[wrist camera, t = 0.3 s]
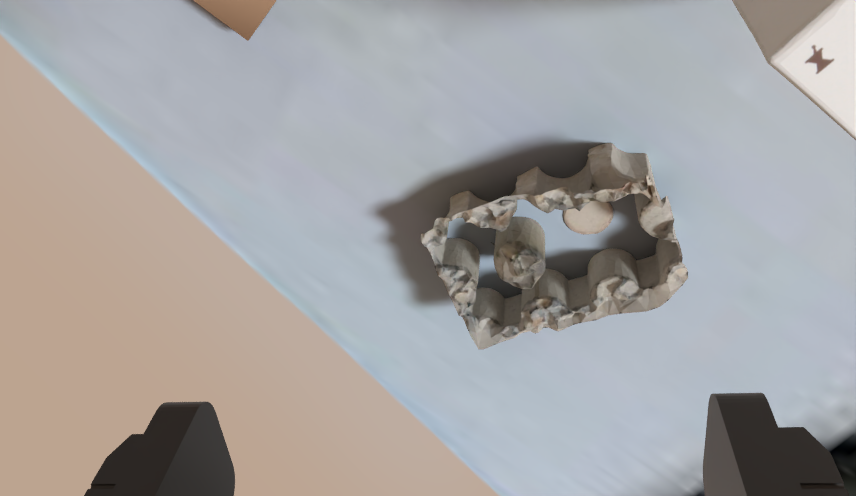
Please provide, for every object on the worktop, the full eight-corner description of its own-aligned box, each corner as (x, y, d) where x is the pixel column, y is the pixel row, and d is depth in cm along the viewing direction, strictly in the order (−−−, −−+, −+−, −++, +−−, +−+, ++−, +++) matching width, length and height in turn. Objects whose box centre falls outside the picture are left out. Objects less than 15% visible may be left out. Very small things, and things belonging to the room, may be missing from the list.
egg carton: (647, 123, 34) (660, 173, 31) (685, 255, 38) (699, 312, 35) (419, 191, 37) (408, 243, 34) (475, 306, 41) (471, 363, 38)
